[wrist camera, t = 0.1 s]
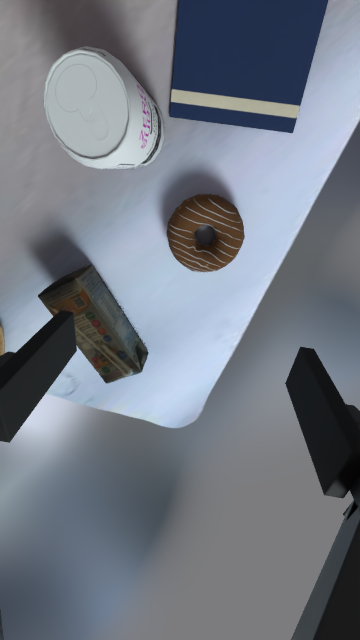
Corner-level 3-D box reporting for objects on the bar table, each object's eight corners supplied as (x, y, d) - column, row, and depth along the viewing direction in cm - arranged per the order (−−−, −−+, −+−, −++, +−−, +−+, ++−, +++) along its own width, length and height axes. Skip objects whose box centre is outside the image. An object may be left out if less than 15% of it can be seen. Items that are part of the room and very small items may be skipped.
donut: (217, 174, 36) (217, 175, 33) (256, 241, 40) (260, 248, 36) (154, 223, 40) (149, 228, 36) (195, 280, 44) (193, 290, 40)
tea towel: (193, -165, 24) (192, -171, 24) (366, -147, 24) (369, -152, 23) (169, 116, 34) (169, 116, 33) (292, 133, 33) (293, 132, 33)
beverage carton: (115, 365, 54) (103, 388, 48) (53, 280, 46) (31, 296, 40) (150, 352, 51) (142, 375, 45) (91, 260, 44) (73, 274, 38)
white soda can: (88, 117, 35) (14, 87, 21) (142, 73, 32) (95, 8, 19) (125, 180, 38) (80, 187, 25) (177, 145, 35) (157, 131, 22)
